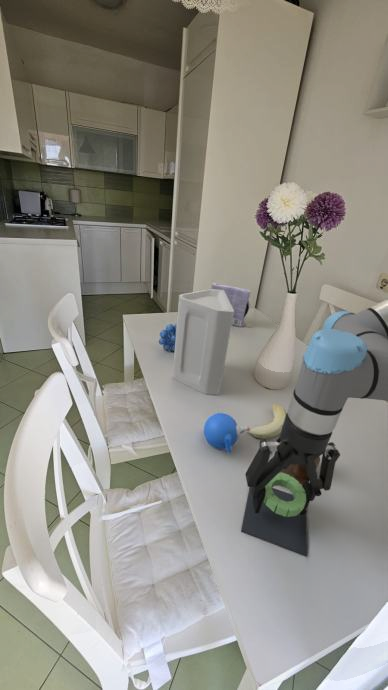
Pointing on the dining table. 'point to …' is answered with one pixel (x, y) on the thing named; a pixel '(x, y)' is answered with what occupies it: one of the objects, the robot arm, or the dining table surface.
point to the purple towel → (236, 301)
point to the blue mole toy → (222, 431)
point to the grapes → (168, 337)
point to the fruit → (271, 424)
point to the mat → (276, 524)
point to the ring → (282, 506)
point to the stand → (299, 471)
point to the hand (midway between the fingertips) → (277, 507)
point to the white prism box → (202, 339)
